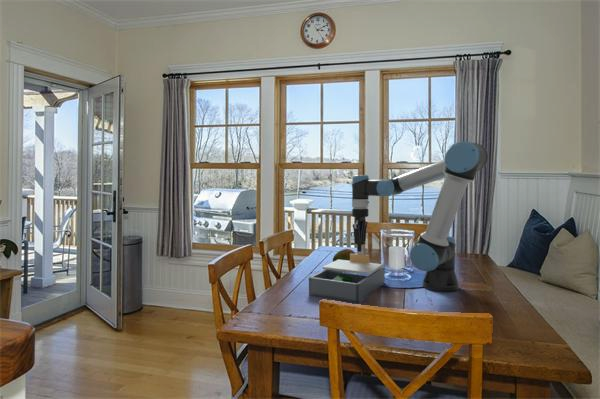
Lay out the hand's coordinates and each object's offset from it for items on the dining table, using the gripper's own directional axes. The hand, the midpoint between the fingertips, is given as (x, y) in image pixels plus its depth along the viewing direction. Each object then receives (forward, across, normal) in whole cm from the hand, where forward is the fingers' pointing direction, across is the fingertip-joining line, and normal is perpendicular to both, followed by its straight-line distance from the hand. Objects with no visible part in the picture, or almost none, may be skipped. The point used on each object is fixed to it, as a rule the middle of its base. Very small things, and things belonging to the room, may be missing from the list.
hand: (360, 258), depth 184 cm
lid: (+3, -9, 0) cm, 10 cm away
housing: (+11, -14, 0) cm, 18 cm away
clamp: (+10, -22, 0) cm, 25 cm away
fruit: (+11, +21, +17) cm, 29 cm away
